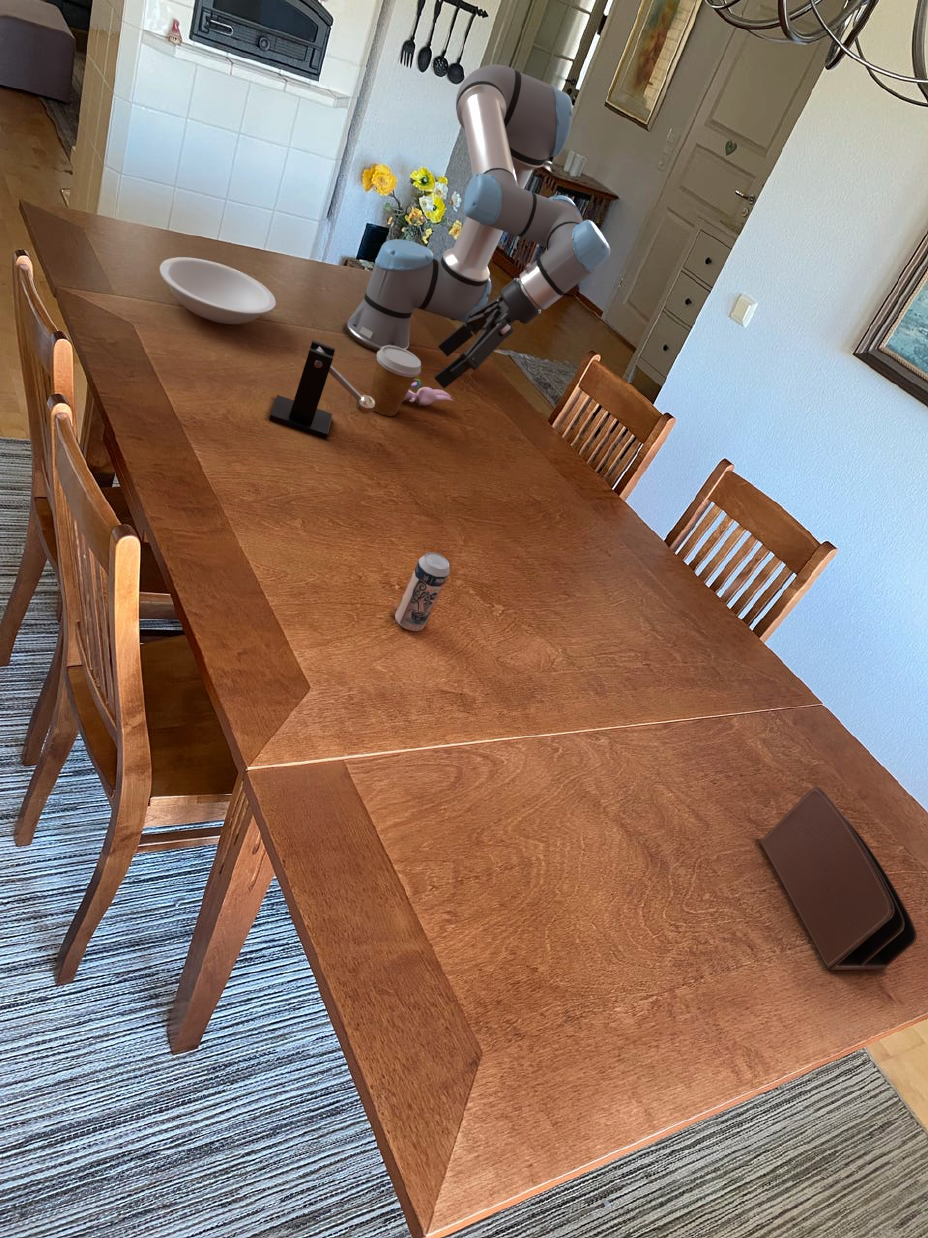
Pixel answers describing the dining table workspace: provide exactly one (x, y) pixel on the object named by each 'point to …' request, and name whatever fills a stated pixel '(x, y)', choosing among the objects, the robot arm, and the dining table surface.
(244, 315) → the soup bowl
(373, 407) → the ball-tipped metal rod
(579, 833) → the dining table surface
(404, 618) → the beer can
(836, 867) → the letter holder
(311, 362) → the bracket
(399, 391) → the disposable coffee cup
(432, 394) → the rabbit figure
